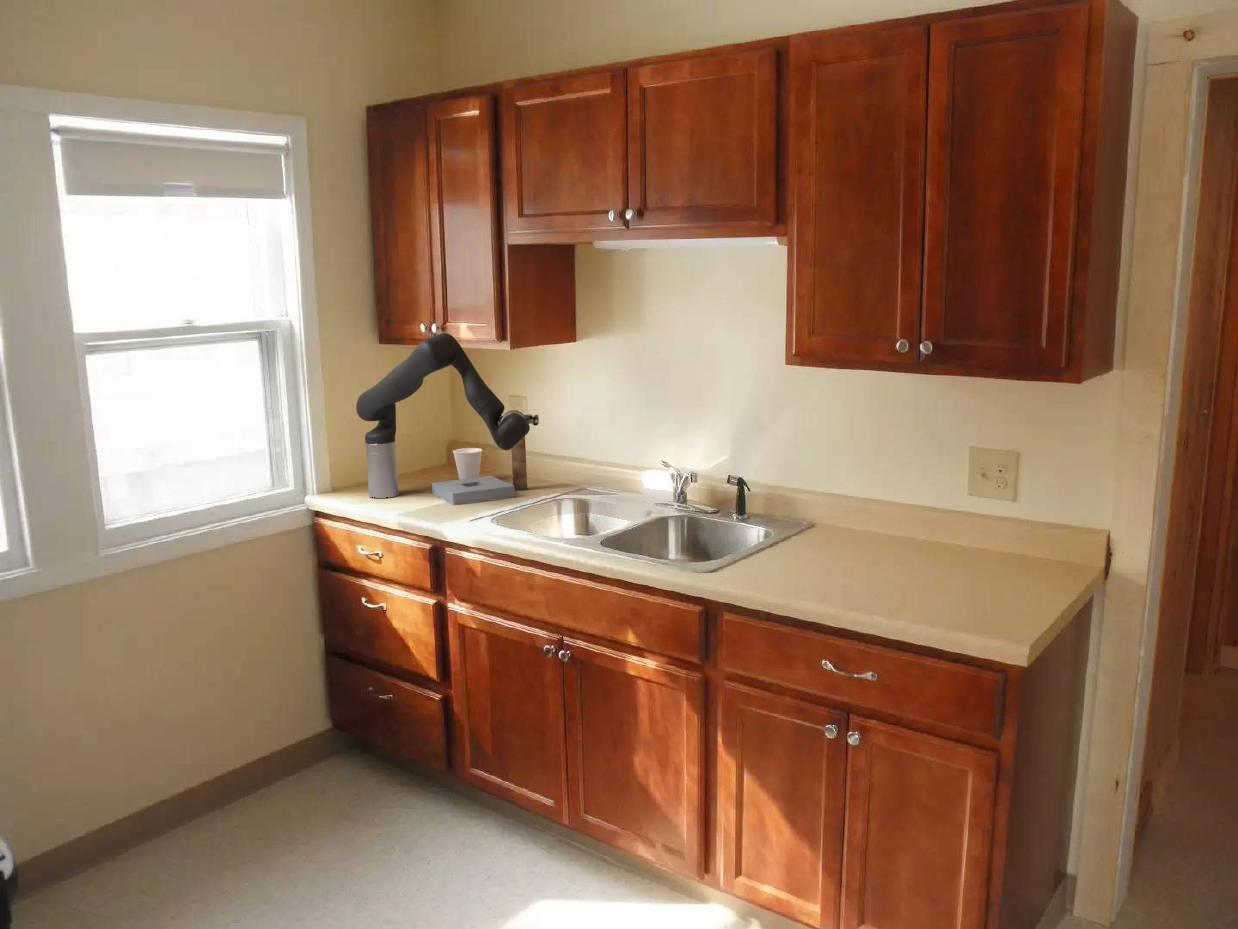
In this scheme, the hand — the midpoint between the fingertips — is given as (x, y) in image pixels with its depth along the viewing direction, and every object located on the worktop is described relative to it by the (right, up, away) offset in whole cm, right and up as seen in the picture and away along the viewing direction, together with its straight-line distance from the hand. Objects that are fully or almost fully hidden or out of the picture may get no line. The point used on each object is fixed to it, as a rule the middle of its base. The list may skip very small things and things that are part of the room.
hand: (515, 418), depth 315 cm
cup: (-18, -20, +28) cm, 39 cm away
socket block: (-14, -24, +8) cm, 29 cm away
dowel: (0, -22, +15) cm, 27 cm away
